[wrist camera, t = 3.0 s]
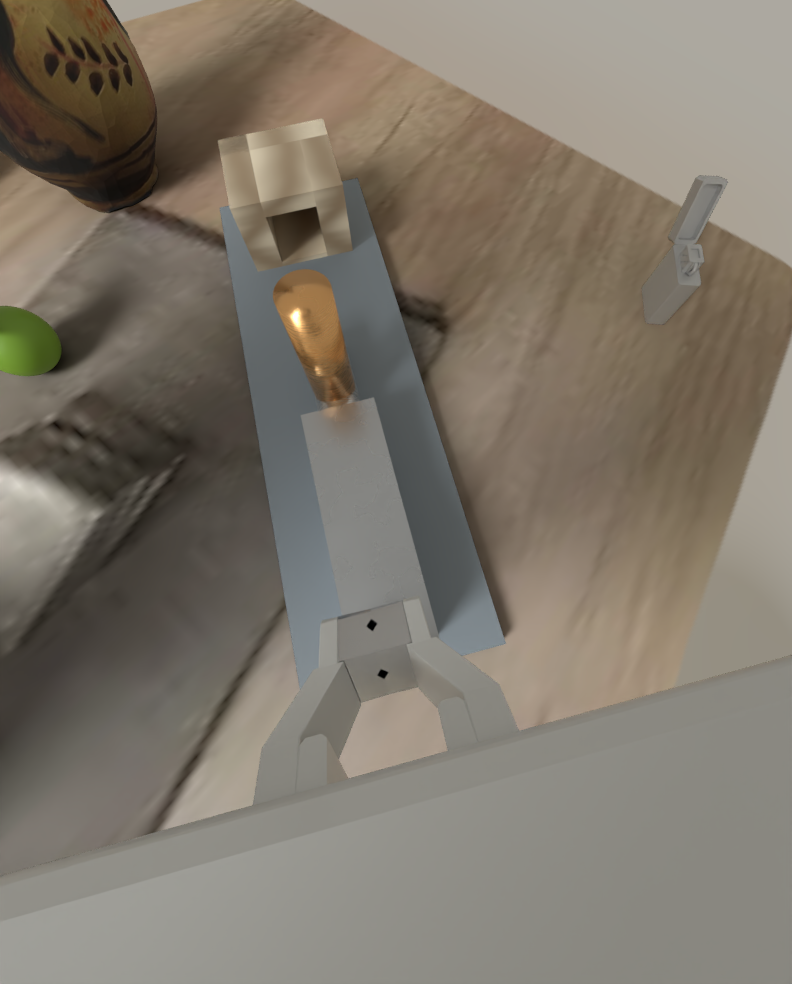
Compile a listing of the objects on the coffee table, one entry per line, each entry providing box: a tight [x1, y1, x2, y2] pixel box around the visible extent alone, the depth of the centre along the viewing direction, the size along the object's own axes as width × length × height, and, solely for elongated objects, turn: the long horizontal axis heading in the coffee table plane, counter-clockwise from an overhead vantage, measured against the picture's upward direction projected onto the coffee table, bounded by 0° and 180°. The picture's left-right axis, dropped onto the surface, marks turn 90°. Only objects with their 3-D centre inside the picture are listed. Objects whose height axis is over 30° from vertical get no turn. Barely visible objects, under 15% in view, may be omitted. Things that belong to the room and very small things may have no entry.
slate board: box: [220, 178, 506, 689], centre depth 32 cm, size 14×45×1 cm, turn 15°
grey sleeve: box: [301, 397, 440, 639], centre depth 25 cm, size 5×16×5 cm, turn 15°
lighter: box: [642, 175, 728, 325], centre depth 31 cm, size 7×2×8 cm, turn 174°
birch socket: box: [218, 119, 353, 272], centre depth 33 cm, size 9×8×6 cm
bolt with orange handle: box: [273, 269, 360, 411], centre depth 23 cm, size 3×24×11 cm, turn 14°
